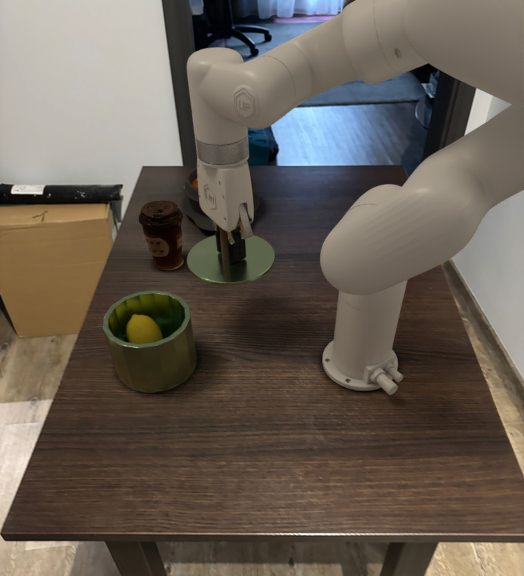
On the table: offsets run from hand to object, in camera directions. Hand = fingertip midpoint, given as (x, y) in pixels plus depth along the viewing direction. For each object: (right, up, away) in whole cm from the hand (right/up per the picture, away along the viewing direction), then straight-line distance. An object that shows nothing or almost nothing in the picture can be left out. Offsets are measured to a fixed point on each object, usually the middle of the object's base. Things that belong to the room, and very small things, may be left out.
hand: (231, 253), depth 88 cm
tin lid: (0, -1, +1) cm, 1 cm away
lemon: (-13, -17, +2) cm, 22 cm away
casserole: (-5, +18, +39) cm, 43 cm away
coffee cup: (-15, +2, +23) cm, 28 cm away
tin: (-13, -18, +2) cm, 23 cm away
